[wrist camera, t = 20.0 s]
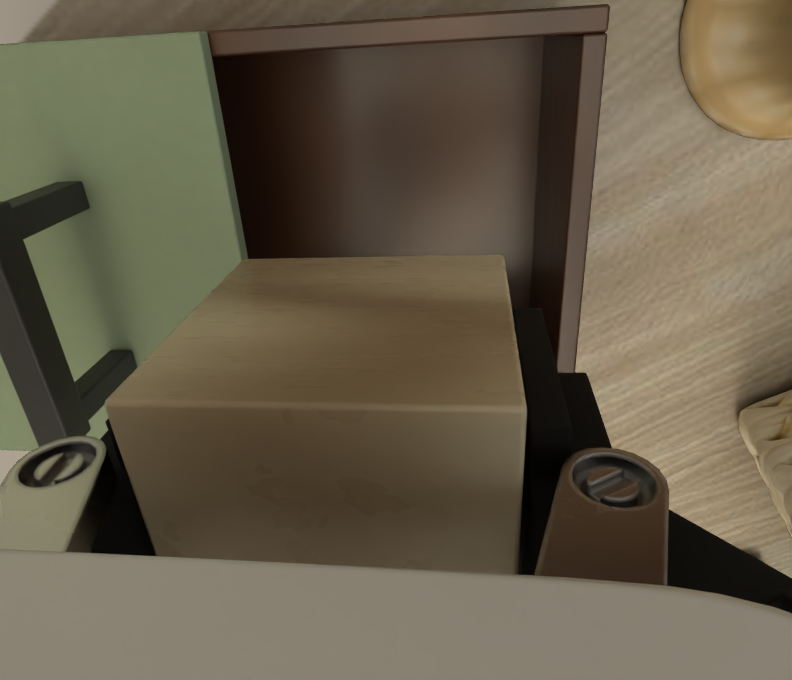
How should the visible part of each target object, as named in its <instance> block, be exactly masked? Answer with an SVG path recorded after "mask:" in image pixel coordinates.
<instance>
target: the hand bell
mask: <svg viewBox="0 0 792 680" xmlns="http://www.w3.org/2000/svg"><path fill="white" fill-rule="evenodd" d="M680 57H681V67H682V71H683V75H684V78H685V81H686V84H687V86H688V88H689V90H690V93H691V94H692V96H693V98H694V99H695V101H696V102H697V104H698V105H699V107H700V108H701V109H702V111H703V112H704V113H705V114H706V115H707V116H708V117H710V118H711V119H712V120H713V121H714V122H716V123H717V124H718V125H719V126H721V127H723V128H724V129H726V130H729V131H732V132H734V133H736V134H739V135H741V136H745V137H749V138H755V139H762V140H785V139H792V0H687V3H686V6H685V9H684V13H683V18H682V23H681V29H680Z"/></svg>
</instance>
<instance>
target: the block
mask: <svg viewBox="0 0 792 680" xmlns="http://www.w3.org/2000/svg"><path fill="white" fill-rule="evenodd" d="M105 409H106V412H107V415H108V418H109V421H110V424H111V427H112V430H113V433H114V435H115V438H116V441H117V444H118V447H119V450H120V453H121V456H122V459H123V462H124V464H125V467H126V470H127V473H128V476H129V479H130V482H131V485H132V488H133V491H134V494H135V496H136V499H137V502H138V505H139V508H140V511H141V514H142V517H143V520H144V523H145V525H146V528H147V531H148V534H149V537H150V540H151V543H152V546H153V549H154V552H155V555H156V556H162V557H182V558H202V559H222V560H243V561H263V562H284V563H304V564H325V565H345V566H366V567H386V568H405V569H423V570H441V571H460V572H478V573H496V574H514V575H518V567H519V549H520V531H521V513H522V495H523V477H524V459H525V441H526V423H527V405H526V399H525V392H524V386H523V379H522V372H521V366H520V359H519V352H518V346H517V339H516V333H515V326H514V319H513V313H512V306H511V299H510V293H509V286H508V279H507V273H506V266H505V260H504V257H503V256H502V255H455V256H396V257H337V258H278V259H244V260H242V261H241V262H240V263H239V264H238V265H237V266H236V267H235V268H234V269H233V270H232V271H231V272H230V273H229V274H228V275H227V276H226V277H225V278H224V279H223V280H222V281H221V282H220V283H219V285H218V286H217V287H216V288H215V289H214V290H213V291H212V292H211V293H210V294H209V295H208V296H207V297H206V298H205V299H204V300H203V301H202V302H201V303H200V304H199V305H198V306H197V307H196V308H195V309H194V310H193V311H192V312H191V313H190V314H189V315H188V316H187V317H186V318H185V319H184V320H183V321H182V322H181V323H180V324H179V325H178V326H177V328H176V329H175V330H174V331H173V332H172V333H171V334H170V335H169V336H168V337H167V338H166V339H165V340H164V341H163V342H162V343H161V344H160V345H159V346H158V347H157V348H156V349H155V350H154V351H153V352H152V353H151V354H150V355H149V356H148V357H147V358H146V359H145V360H144V361H143V362H142V363H141V364H140V365H139V366H138V367H137V368H136V369H135V371H134V372H133V373H132V374H131V375H130V376H129V377H128V378H127V379H126V380H125V381H124V382H123V383H122V384H121V385H120V386H119V387H118V388H117V389H116V390H115V391H114V392H113V393H112V394H111V395H110V396H109V397H108V398H107V399H106V401H105Z"/></svg>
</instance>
